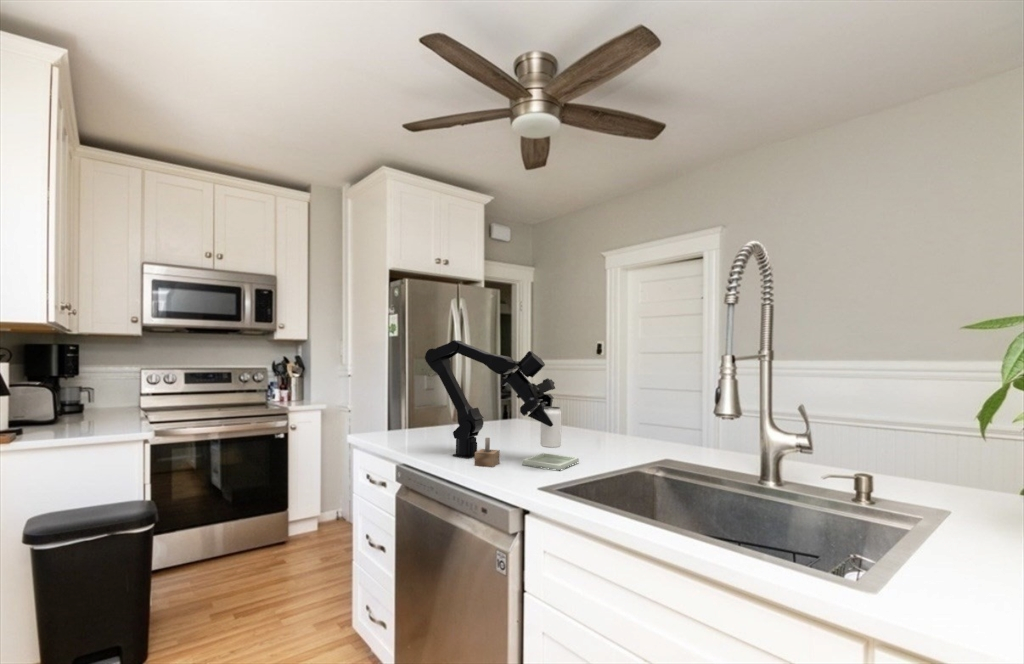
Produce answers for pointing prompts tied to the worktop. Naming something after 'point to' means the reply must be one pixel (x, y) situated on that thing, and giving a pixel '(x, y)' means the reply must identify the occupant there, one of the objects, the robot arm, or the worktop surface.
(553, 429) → the can
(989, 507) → the worktop surface
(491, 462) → the wooden peg block
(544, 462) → the tray
